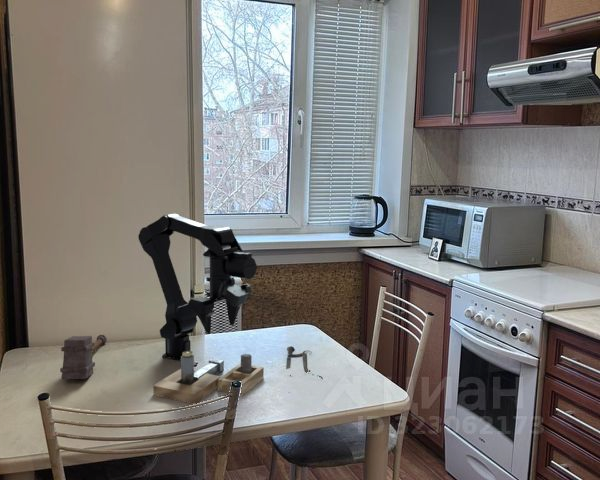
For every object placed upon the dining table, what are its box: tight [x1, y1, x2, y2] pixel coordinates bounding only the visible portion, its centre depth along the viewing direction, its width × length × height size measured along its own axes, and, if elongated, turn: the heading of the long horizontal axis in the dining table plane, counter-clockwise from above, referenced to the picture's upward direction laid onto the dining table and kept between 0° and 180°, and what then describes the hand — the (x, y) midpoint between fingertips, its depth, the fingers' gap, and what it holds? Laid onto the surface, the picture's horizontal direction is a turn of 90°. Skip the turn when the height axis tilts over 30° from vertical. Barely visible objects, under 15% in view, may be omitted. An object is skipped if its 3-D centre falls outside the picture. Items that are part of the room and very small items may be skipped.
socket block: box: [152, 368, 221, 404], centre depth 146 cm, size 12×12×2 cm
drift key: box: [194, 358, 225, 383], centre depth 154 cm, size 4×12×3 cm, turn 158°
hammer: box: [59, 334, 108, 380], centre depth 164 cm, size 7×33×10 cm, turn 6°
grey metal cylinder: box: [180, 350, 195, 385], centre depth 146 cm, size 3×3×10 cm
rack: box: [217, 353, 265, 397], centre depth 150 cm, size 7×12×7 cm, turn 158°
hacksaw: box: [285, 345, 323, 380], centre depth 166 cm, size 24×10×2 cm, turn 179°
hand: (220, 329), depth 159 cm, fingers open, 9 cm apart
